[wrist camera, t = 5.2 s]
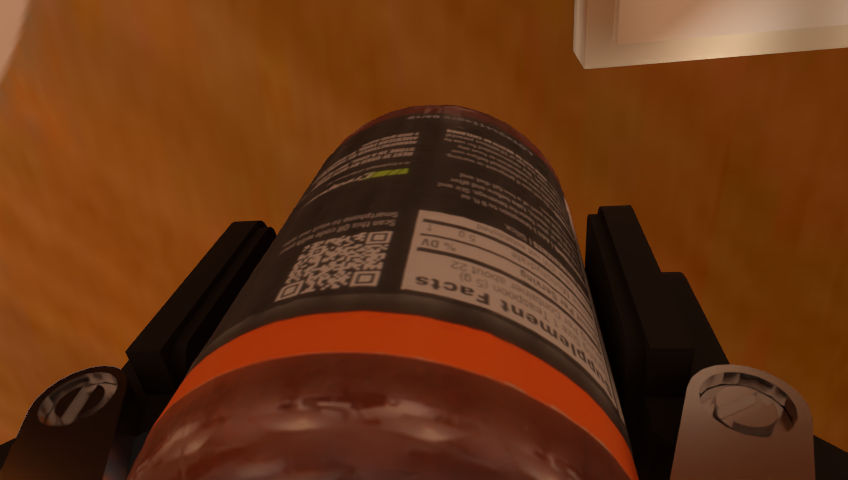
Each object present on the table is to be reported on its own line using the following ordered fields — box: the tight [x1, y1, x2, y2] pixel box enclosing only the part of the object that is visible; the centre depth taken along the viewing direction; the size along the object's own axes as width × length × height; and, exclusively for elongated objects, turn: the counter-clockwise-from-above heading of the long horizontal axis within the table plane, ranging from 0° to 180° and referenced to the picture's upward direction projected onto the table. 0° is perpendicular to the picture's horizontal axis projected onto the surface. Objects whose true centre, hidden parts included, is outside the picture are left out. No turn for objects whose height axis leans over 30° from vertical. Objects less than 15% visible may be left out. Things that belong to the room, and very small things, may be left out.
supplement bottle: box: [126, 105, 639, 480], centre depth 9 cm, size 6×6×11 cm
